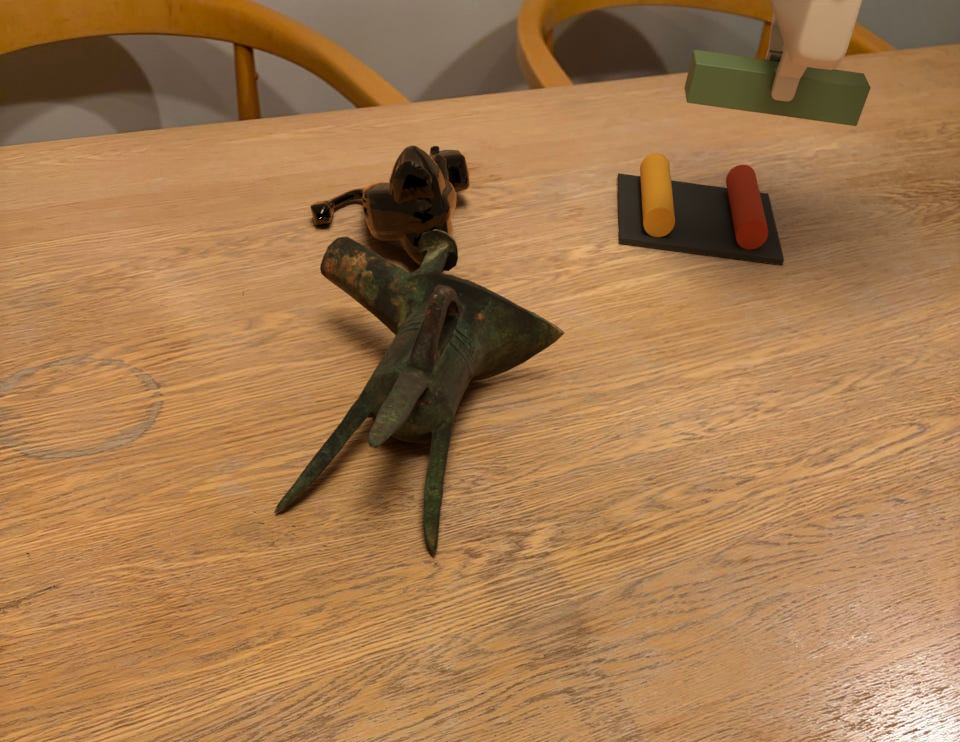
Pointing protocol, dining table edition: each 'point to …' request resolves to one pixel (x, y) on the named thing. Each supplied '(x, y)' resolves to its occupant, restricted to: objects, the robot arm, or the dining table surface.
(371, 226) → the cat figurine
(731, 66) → the bar
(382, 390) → the vessel
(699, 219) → the rod stand
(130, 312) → the dining table surface
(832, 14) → the robot arm
